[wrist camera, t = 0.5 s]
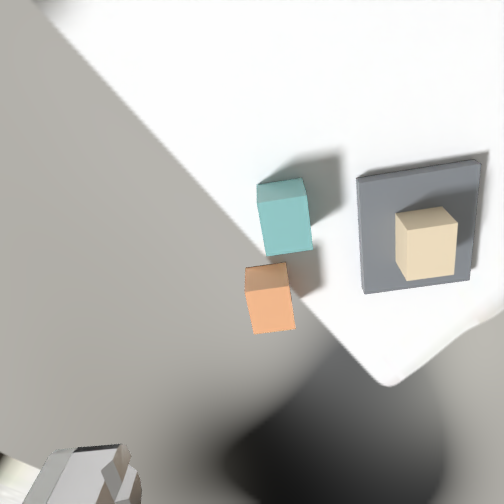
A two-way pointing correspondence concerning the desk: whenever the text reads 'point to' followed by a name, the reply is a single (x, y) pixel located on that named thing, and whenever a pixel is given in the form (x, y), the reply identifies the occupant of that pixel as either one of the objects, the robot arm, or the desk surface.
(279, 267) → the terracotta brick
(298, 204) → the teal brick
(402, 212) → the plate
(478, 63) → the desk surface
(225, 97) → the desk surface
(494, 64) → the desk surface
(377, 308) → the desk surface
